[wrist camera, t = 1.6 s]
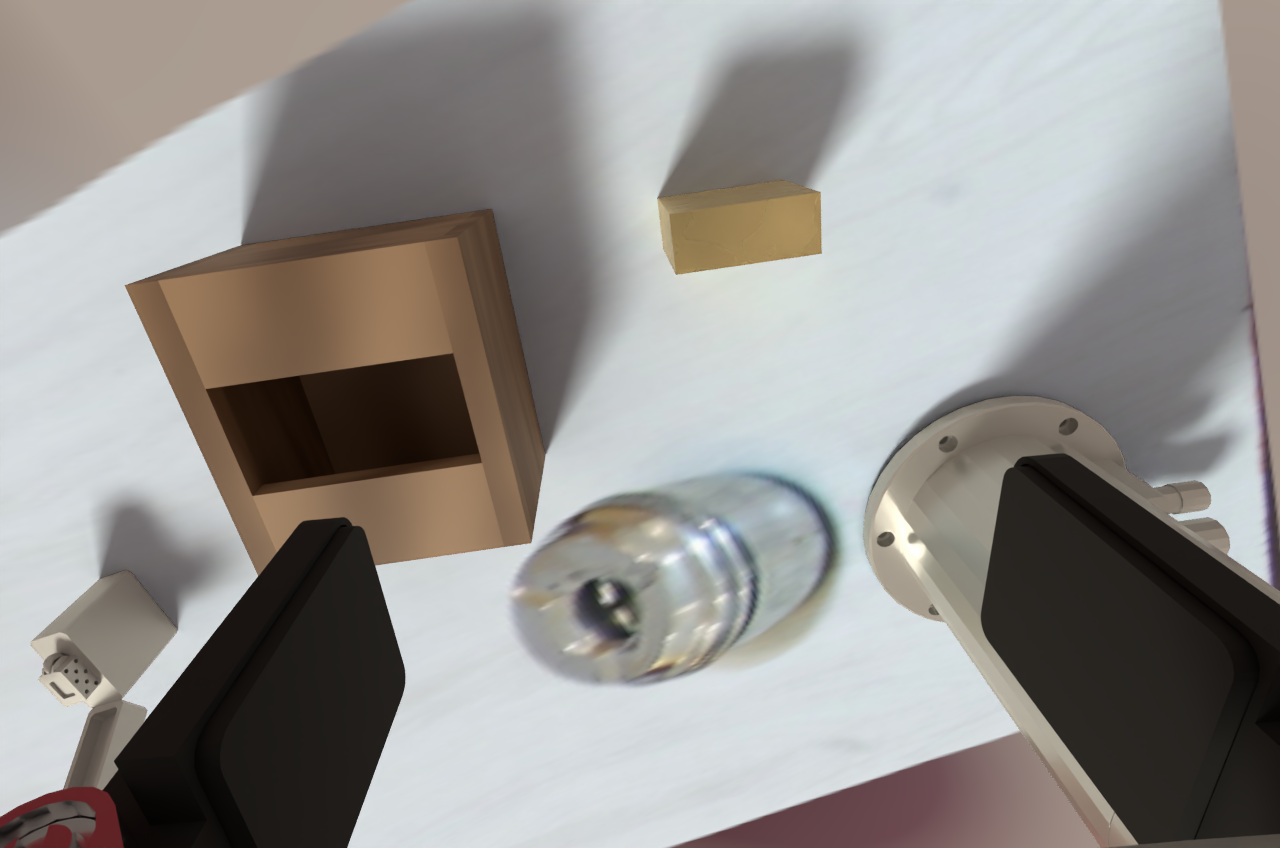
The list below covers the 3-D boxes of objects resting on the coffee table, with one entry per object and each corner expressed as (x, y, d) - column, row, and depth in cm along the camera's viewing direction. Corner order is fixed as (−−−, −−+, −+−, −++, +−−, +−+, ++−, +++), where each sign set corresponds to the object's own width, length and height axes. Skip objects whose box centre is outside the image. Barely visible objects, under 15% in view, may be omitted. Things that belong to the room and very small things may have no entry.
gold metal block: (782, 179, 26) (820, 192, 22) (784, 231, 27) (821, 253, 23) (657, 198, 26) (669, 214, 22) (663, 249, 27) (675, 274, 23)
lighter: (96, 579, 32) (-51, 713, 25) (128, 569, 32) (-11, 700, 25) (183, 682, 35) (74, 829, 28) (213, 673, 35) (111, 818, 28)
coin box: (491, 208, 26) (457, 236, 20) (545, 455, 31) (531, 543, 24) (240, 245, 26) (124, 285, 20) (331, 486, 31) (261, 581, 24)
